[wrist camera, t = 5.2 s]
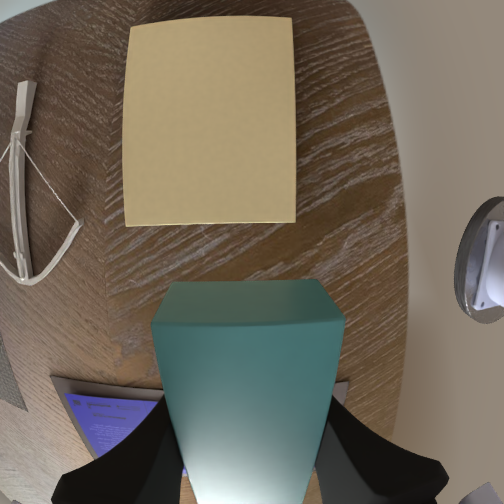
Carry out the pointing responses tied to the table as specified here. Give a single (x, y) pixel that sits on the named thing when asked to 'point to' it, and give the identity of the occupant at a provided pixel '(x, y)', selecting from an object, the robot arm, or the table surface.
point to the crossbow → (18, 194)
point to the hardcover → (210, 122)
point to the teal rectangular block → (248, 383)
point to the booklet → (116, 410)
